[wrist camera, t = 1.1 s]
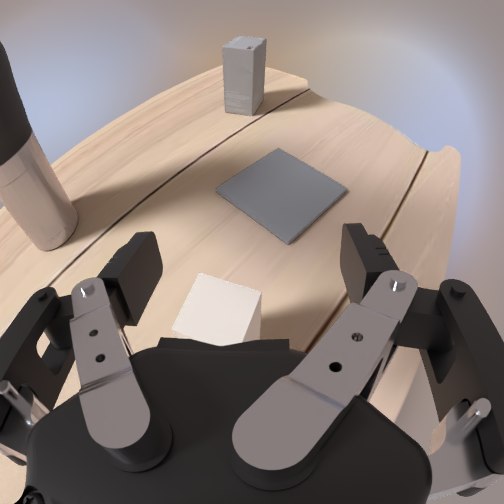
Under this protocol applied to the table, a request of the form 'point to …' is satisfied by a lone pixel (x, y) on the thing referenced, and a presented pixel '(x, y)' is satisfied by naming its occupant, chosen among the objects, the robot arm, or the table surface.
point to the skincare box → (244, 74)
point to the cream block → (219, 313)
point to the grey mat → (282, 194)
